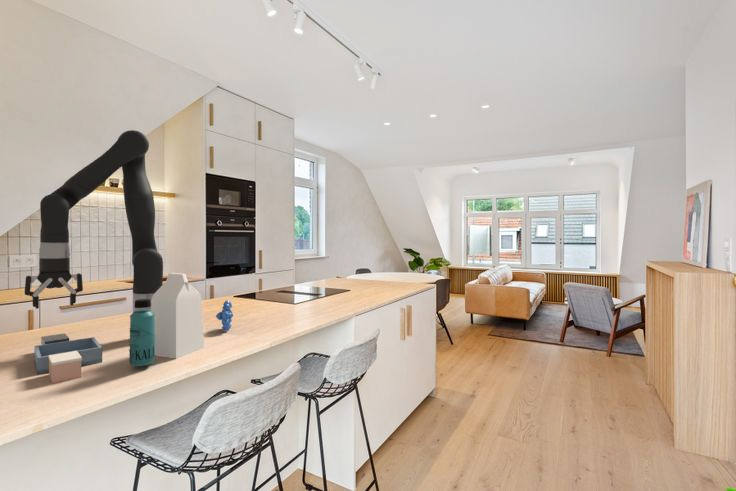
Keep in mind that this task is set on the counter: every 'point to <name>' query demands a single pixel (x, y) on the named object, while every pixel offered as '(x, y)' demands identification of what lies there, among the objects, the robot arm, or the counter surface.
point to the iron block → (54, 339)
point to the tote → (85, 347)
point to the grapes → (225, 315)
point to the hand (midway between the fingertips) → (54, 306)
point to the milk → (177, 318)
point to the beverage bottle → (142, 334)
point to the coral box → (64, 366)
